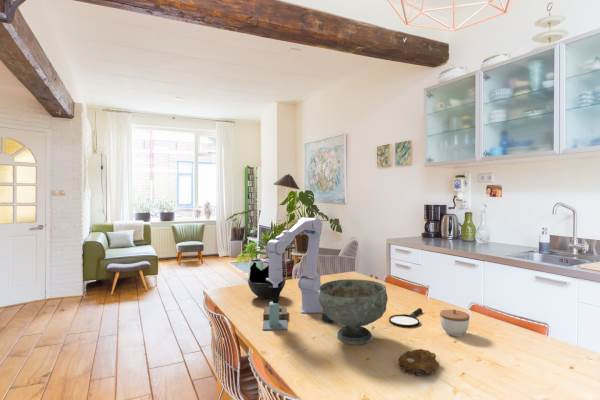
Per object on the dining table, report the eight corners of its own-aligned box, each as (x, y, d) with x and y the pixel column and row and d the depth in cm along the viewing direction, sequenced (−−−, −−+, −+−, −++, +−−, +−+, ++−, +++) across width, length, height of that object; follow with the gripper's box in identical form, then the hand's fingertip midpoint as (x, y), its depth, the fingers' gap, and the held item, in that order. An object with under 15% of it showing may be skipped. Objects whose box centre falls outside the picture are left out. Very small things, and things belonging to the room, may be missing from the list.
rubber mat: (286, 321, 154) (286, 319, 154) (287, 329, 144) (287, 328, 144) (263, 321, 153) (263, 320, 153) (262, 330, 143) (262, 329, 143)
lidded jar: (467, 330, 143) (467, 307, 143) (471, 340, 133) (471, 315, 133) (439, 326, 147) (439, 304, 147) (440, 336, 137) (440, 312, 137)
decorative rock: (409, 354, 123) (394, 374, 110) (408, 342, 123) (393, 361, 110) (443, 361, 116) (431, 383, 104) (443, 349, 116) (430, 369, 104)
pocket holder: (286, 311, 166) (286, 306, 166) (287, 319, 156) (287, 313, 156) (264, 312, 166) (264, 306, 165) (263, 320, 155) (263, 314, 155)
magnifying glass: (433, 315, 162) (433, 310, 162) (412, 331, 143) (412, 326, 143) (407, 309, 170) (407, 305, 170) (384, 324, 152) (383, 319, 152)
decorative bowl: (343, 359, 118) (343, 299, 118) (306, 332, 141) (306, 282, 141) (402, 343, 130) (402, 289, 130) (360, 321, 153) (360, 275, 153)
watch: (331, 324, 149) (331, 298, 149) (319, 319, 156) (319, 294, 156) (341, 321, 153) (341, 296, 153) (329, 316, 159) (329, 292, 159)
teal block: (279, 322, 151) (279, 301, 151) (279, 326, 147) (279, 304, 147) (269, 322, 150) (269, 301, 150) (269, 326, 146) (269, 304, 146)
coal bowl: (292, 296, 192) (292, 261, 192) (270, 305, 175) (270, 268, 175) (263, 290, 203) (263, 258, 202) (240, 299, 186) (239, 263, 185)
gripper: (266, 264, 157) (266, 295, 157) (265, 272, 142) (265, 305, 142) (282, 264, 157) (282, 295, 157) (283, 271, 142) (283, 305, 143)
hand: (275, 300), depth 150 cm, fingers open, 7 cm apart
